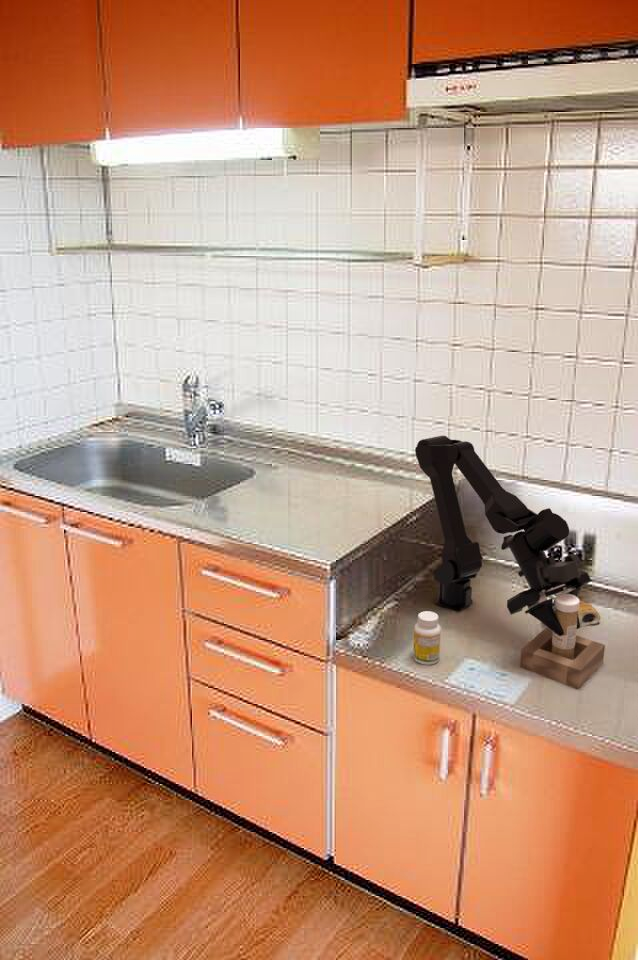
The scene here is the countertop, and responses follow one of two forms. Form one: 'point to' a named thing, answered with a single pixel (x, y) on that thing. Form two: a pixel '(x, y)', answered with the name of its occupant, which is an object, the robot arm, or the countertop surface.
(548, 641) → the socket block
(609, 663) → the countertop surface
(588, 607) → the pastry
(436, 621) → the supplement bottle
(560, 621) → the sprinkles bottle
